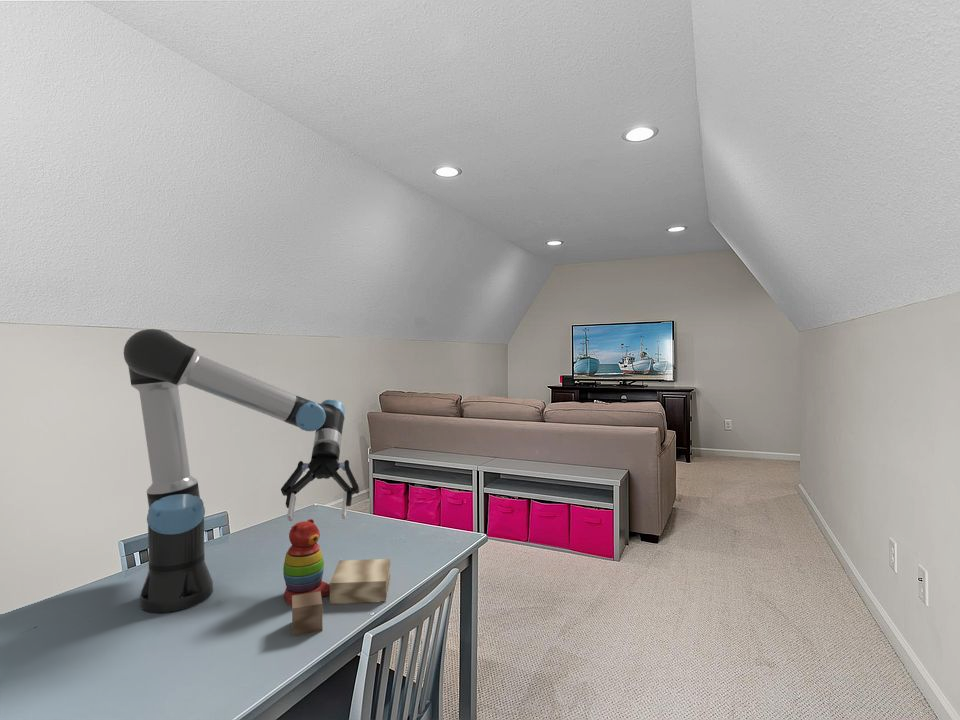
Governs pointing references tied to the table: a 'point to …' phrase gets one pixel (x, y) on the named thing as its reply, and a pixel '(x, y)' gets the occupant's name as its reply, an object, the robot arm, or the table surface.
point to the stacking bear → (304, 562)
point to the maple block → (360, 581)
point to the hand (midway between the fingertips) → (316, 517)
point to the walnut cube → (306, 613)
